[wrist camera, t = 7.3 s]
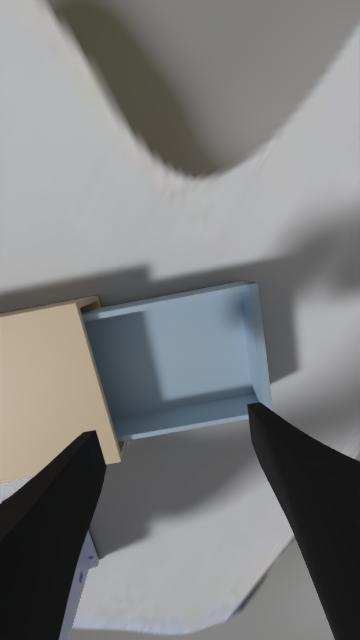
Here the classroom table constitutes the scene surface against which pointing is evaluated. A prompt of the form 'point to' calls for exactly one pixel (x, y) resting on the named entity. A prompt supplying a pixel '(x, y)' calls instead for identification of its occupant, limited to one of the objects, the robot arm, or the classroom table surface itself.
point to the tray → (181, 359)
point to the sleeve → (49, 388)
